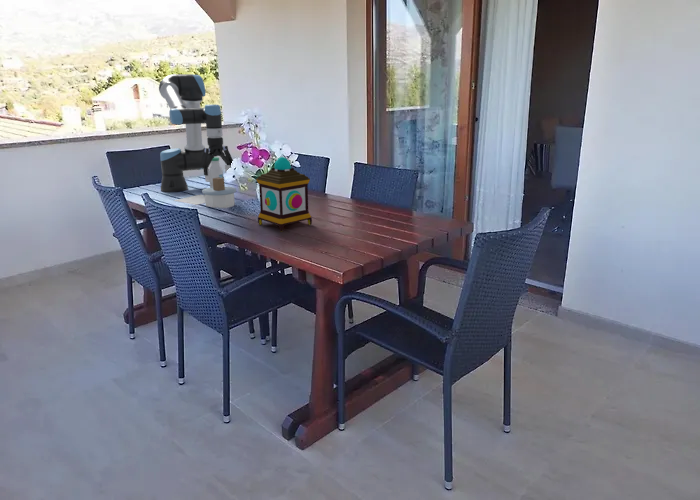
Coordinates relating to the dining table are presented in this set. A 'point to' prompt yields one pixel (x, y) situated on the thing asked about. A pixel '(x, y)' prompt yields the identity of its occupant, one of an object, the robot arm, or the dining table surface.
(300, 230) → the dining table surface
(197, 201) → the mat
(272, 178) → the decorative lantern
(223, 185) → the lid
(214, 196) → the bowl
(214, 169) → the milk bottle
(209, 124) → the robot arm
